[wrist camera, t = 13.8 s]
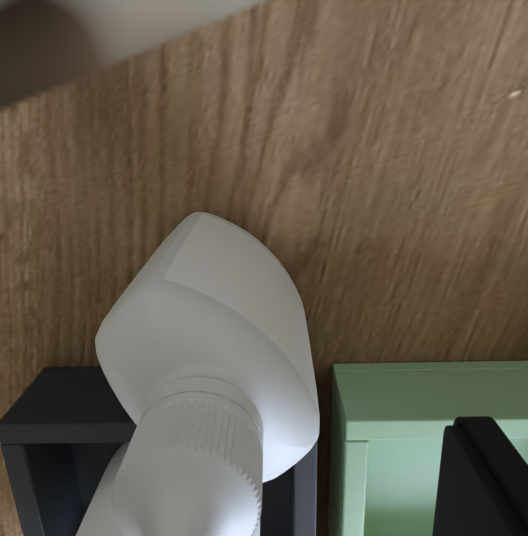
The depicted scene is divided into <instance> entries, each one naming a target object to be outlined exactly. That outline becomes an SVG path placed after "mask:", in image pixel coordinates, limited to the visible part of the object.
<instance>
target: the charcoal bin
mask: <svg viewBox="0 0 528 536" xmlns="http://www.w3.org/2000/svg"><path fill="white" fill-rule="evenodd" d="M136 427H137V425H136V424H135V422H134V421H133V420H132V418H131V417H130V416H129V414H128V413H127V412H126V410H125V409H124V407H123V406H122V404H121V403H120V401H119V400H118V398H117V396H116V395H115V393H114V391H113V390H112V388H111V386H110V384H109V382H108V380H107V378H106V376H105V374H104V372H103V370H102V368H101V367H61V368H43V370H42V371H41V372H40V373H39V374H38V377H36V379H35V380H34V381H33V382H32V383H31V384H30V386H29V387H28V388H27V389H26V390H25V392H24V393H23V394H22V395H21V396H20V397H19V399H18V400H17V401H16V402H15V403H14V404H13V406H12V407H11V408H10V409H9V410H8V412H7V413H6V414H5V415H4V416H3V417H2V419H1V420H0V443H1V444H2V445H1V448H2V452H3V456H4V460H5V464H6V468H7V472H8V476H9V480H10V484H11V488H12V492H13V496H14V500H15V503H16V507H17V511H18V515H19V519H20V523H21V527H22V531H23V535H24V536H76V534H77V531H78V529H79V527H80V525H81V522H82V520H83V518H84V516H85V514H86V512H87V509H88V507H89V505H90V503H91V501H92V498H93V496H94V494H95V492H96V490H97V487H98V485H99V483H100V481H101V479H102V477H103V474H104V472H105V470H106V468H107V466H108V464H109V462H110V460H111V459H112V457H113V455H114V454H115V453H116V451H117V450H118V449H119V448H120V447H121V446H122V445H123V444H124V443H128V442H131V439H132V437H133V434H134V432H135V429H136ZM317 452H318V441H316V442H315V444H314V445H313V447H312V449H311V450H310V451H309V452H308V453H307V454H306V455H305V456H304V457H303V458H302V459H300V460H299V461H298V462H297V463H296V464H294V465H293V466H292V467H291V468H289V469H288V470H287V471H285V472H284V473H282V474H281V475H279V476H278V477H276V478H274V479H272V480H269V481H266V482H264V483H262V508H261V515H260V536H316V519H317Z"/></svg>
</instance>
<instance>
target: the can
mask: <svg viewBox="0 0 528 536" xmlns="http://www.w3.org/2000/svg"><path fill="white" fill-rule="evenodd" d="M129 444H130V442H128V443H124V444H123V445H122V446H121V447H120V448H119V449H118V450H117V451H116V453H115V454H114V455H113V457H112V459H111V460H110V462H109V464H108V466H107V468H106V470H105V472H104V474H103V477H102V479H101V481H100V483H99V485H98V487H97V490H96V492H95V494H94V496H93V498H92V501H91V503H90V505H89V507H88V509H87V512H86V514H85V516H84V518H83V520H82V522H81V525H80V527H79V529H78V531H77V534H76V536H126V535H125V534H124V532H123V531H122V530H121V528H120V526H119V525H118V523H117V521H116V519H115V517H114V513H113V511H112V505H111V502H112V500H111V495H112V493H111V490H112V488H113V483H114V481H115V478H116V475H117V473H118V470H119V468H120V466H121V463H122V461H123V458H124V456H125V454H126V451H127V449H128V446H129ZM251 536H260V520H259V522H258V526H257V527H256V528H255V531H254V532H253V533H252V534H251Z"/></svg>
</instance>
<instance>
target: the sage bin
mask: <svg viewBox="0 0 528 536" xmlns="http://www.w3.org/2000/svg"><path fill="white" fill-rule="evenodd" d="M470 416H489V417H492V418H493V419H494V420H495V421H496V422H497V424H498V425H499V427H500V428H501V429H502V431H503V432H504V433H505V435H506V436H507V437H508V439H509V440H510V441H511V443H512V444H513V445H514V447H515V448H516V450H517V451H518V452H519V454H520V455H521V456H522V458H523V459H524V460H525V462H526V463H527V464H528V361H475V362H408V363H342V364H333V369H332V408H331V447H330V485H329V524H328V536H432V533H433V524H434V515H435V506H436V497H437V488H438V479H439V470H440V461H441V452H442V442H443V433H444V429H445V427H446V426H447V425H453V423H454V420H455V419H456V418H457V417H470Z"/></svg>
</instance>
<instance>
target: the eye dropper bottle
mask: <svg viewBox="0 0 528 536" xmlns="http://www.w3.org/2000/svg"><path fill="white" fill-rule="evenodd" d="M95 347H96V354H97V358H98V360H99V363H100V365H101V368H102V370H103V372H104V374H105V376H106V378H107V380H108V382H109V384H110V386H111V388H112V390H113V391H114V393H115V395H116V396H117V398H118V400H119V401H120V403H121V404H122V406H123V407H124V409H125V410H126V412H127V413H128V414H129V416H130V417H131V418H132V420H133V421H134V422H135V424H136V425H137V427H136V429H135V432H134V434H133V437H132V439H131V442H130V444H129V446H128V449H127V451H126V454H125V456H124V458H123V461H122V463H121V466H120V468H119V470H118V473H117V475H116V478H115V481H114V483H113V488H112V490H111V493H112V495H111V500H112V502H111V505H112V511H113V513H114V517H115V519H116V521H117V523H118V525H119V526H120V528H121V530H122V531H123V532H124V534H125V535H126V536H251V534H252V533H253V532H254V531H255V528H256V527H257V526H258V522H259V520H260V515H261V508H262V483H264V482H266V481H269V480H272V479H274V478H276V477H278V476H279V475H281V474H282V473H284V472H285V471H287V470H288V469H289V468H291V467H292V466H293V465H294V464H296V463H297V462H298V461H299V460H300V459H302V458H303V457H304V456H305V455H306V454H307V453H308V452H309V451H310V450H311V449H312V447H313V445H314V444H315V442H316V441H317V439H318V436H319V424H320V414H319V406H318V397H317V389H316V382H315V376H314V369H313V362H312V356H311V349H310V343H309V336H308V330H307V324H306V317H305V311H304V306H303V303H302V300H301V297H300V295H299V293H298V291H297V288H296V287H295V285H294V283H293V281H292V279H291V277H290V276H289V274H288V273H287V271H286V270H285V268H284V267H283V265H282V264H281V263H280V262H279V260H278V259H277V258H276V257H275V256H274V254H273V253H272V252H271V251H270V250H269V249H268V248H267V247H266V246H265V245H263V244H262V243H261V242H260V241H259V240H258V239H256V238H255V237H254V236H252V235H251V234H250V233H248V232H247V231H245V230H243V229H242V228H240V227H239V226H237V225H235V224H233V223H231V222H229V221H227V220H225V219H223V218H220V217H218V216H216V215H213V214H210V213H206V212H194V213H192V214H190V215H189V216H187V217H186V218H185V219H184V220H183V221H182V222H181V223H180V224H179V225H178V226H177V227H176V228H175V229H174V230H173V231H172V232H171V233H170V234H169V235H168V236H167V238H166V239H165V240H164V241H163V242H162V243H161V245H160V246H159V247H158V248H157V250H156V251H155V252H154V254H153V255H152V256H151V257H150V259H149V260H148V261H147V263H146V264H145V265H144V266H143V268H142V269H141V270H140V272H139V273H138V274H137V275H136V277H135V278H134V279H133V281H132V282H131V283H130V285H129V286H128V287H127V289H126V290H125V291H124V292H123V294H122V295H121V296H120V298H119V299H118V300H117V302H116V303H115V304H114V306H113V307H112V309H111V310H110V311H109V313H108V314H107V316H106V317H105V318H104V320H103V321H102V324H101V326H100V328H99V330H98V332H97V335H96V337H95Z"/></svg>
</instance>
